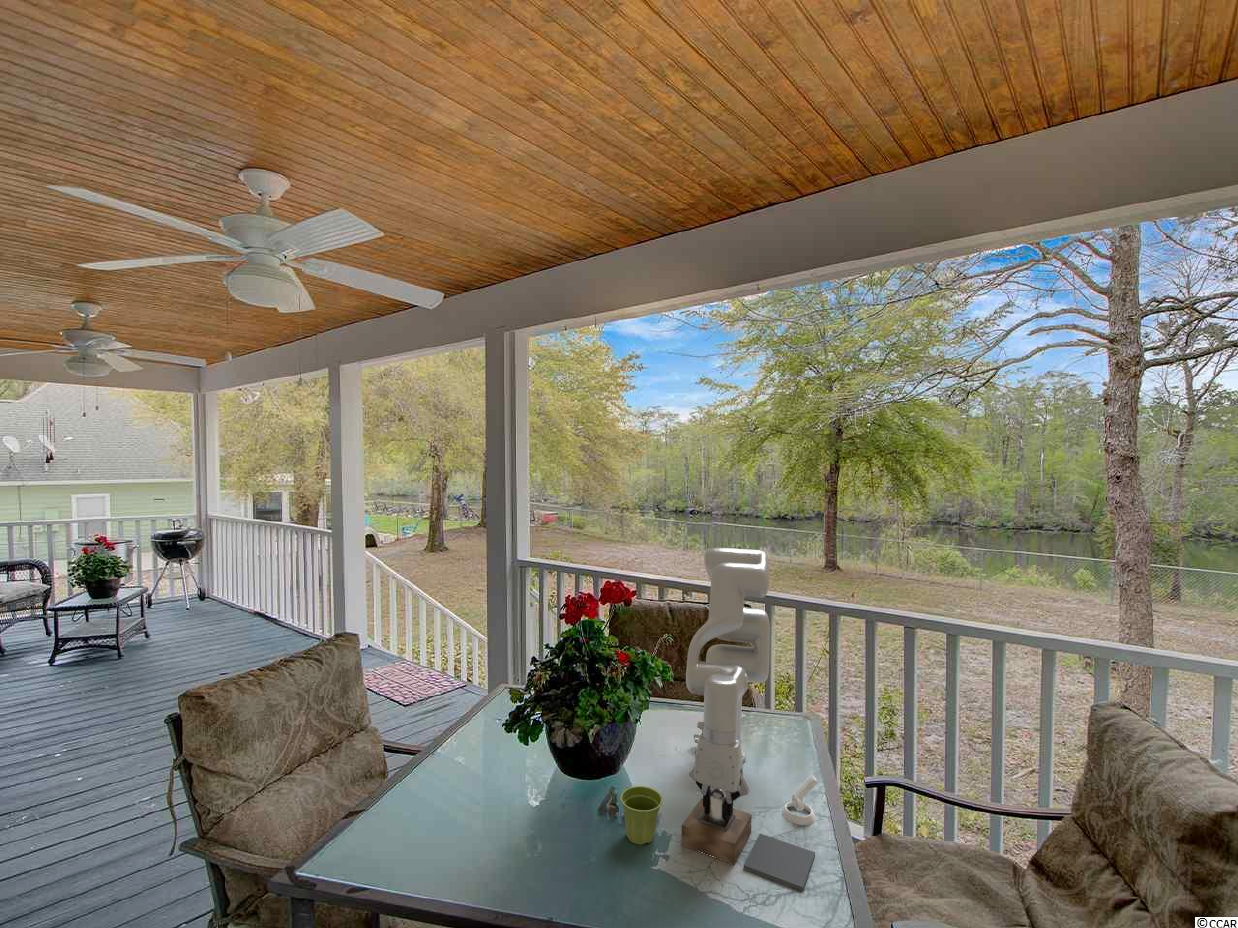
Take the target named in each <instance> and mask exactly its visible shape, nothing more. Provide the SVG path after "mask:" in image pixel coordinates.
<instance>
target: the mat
mask: <svg viewBox="0 0 1238 928" xmlns="http://www.w3.org/2000/svg"><path fill="white" fill-rule="evenodd" d="M815 858H816V851H813V850H809V849H807V848H803V847H801V846H798V845H795V844H792V843H790V842H787V841H783V840H781V839H777V838H775V837H771V836H770V835H767V834H764V833H759V834H758V836H757V838H756V840H755V842H754V844H753V846H752V847H751V850H750V852H749V854H748V856H747V858H746V860H745V862H744V864H743V870H745V871H749V872H751V873H753V874H755V875H758V876H762V877H764V878H767V879H769V880H773V881H774V882H777V883H779V884H783V885H786V886H788V887H791V888H793V889H795V890H799V891H801V892H804V890H805V886H806V884H807V880H808V878H809V875H810V872H811V869H812V865H813V863H814V860H815Z"/></svg>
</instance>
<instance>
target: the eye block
mask: <svg viewBox="0 0 1238 928" xmlns="http://www.w3.org/2000/svg"><path fill="white" fill-rule="evenodd" d="M752 815H753V813H749V812H747V811H744V810H742V809H741V810H740V809H737V808H735V807H733V814H732V816H729V818H728V820H727V821H726V827H725V828H724V827H721V826H718V825H715V824H712V823H709V813H708V814H704V807H703V797H701V798H700V800H699V801H698V802H697V804H696V805H695V806H694V808H693V809H692V811H691V812H690V813H689V814H688V816H687V817H686V818H685V820H684V821H683V823H682V824H681V840H680V842H681V843H680V845H681V846H682V847H685V848H688V849H690V850H692V849H693V851H695V850H697V851H696V852H698V851H700V852H703V853H705V854H704V855H706V854H708V855H711V856H714V857H716V858H718V859H717V860H719V859H721V860H723V861H722V862H724V861H725V863H727V862H728V863H727V864H729V863H731V864H730V865H732V864H733V865H732V866H735V865H736V863H737V861H738V859H739V857H740V856H739V855H741V854H742V852H743V850H744V848H745V846H746V844H747V842H748V840H749V839H748V838H750V837H749V836H751V835H752V821H753V820H752ZM750 834H751V835H750ZM700 852H699V853H700ZM703 853H702V854H703ZM708 855H707V856H708ZM711 856H710V857H711ZM714 857H713V858H714ZM716 858H715V859H716ZM721 860H720V861H721Z"/></svg>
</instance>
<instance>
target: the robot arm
mask: <svg viewBox="0 0 1238 928" xmlns="http://www.w3.org/2000/svg"><path fill="white" fill-rule="evenodd" d="M703 558H704V565H705V570H706V572H707V575H708V578H709V580H710V593H709V607H708V609H709V610H708V618H707V621H706V622H705V623H704V624H703V625H702V626H701V627H700V628H699V629H698V630H697V631H696V632H695V634H694V635H693V636H692V639H691V641H690V642H689V647H688V650H687V658H686V659H687V660H686V671H685V684H686V688H687V690H688V691H689V692H690V693H691V694H693V695H698V696H703V698H704V699H703V720H702V721H698V722H697V725H696V728H698V729H700V730H701V732H702V733H701V732H696V731H695V732H694V733H693V740H694V743H696V744H697V745H696V750H695V758H694V767H693V768H692V770H691V771H690V772H689V773H688V776H689V778H690V779H691V780H692V781H694V782H695V784H696V785H697V788H699V790H700V793H701V795H702V798H703V807H704V814H708V813H709V795H710V792H711V791H713V789H715V788H717V789H720V790H723V791H724V792H725V794H726V801H725V802H724V813H723V819H724V821H727V820H728V818H729V816H732V814H733V808H734V801H736V800H737V799H739V798H740V797H744V796H747V795H748V794H749V792H750V788H749V785H748V784H747V782H746V780H745V778H744V767H743V763H744V762H745V761H746V759H747V757H746V755H747V754H746V751H745V749H743V748H742V746H741V743H742V742H741V741H742V738H741V737H742V736H741V735H742V711H743V710H742V707H743V696H744V694H745V693H746V692H747V690H748V687H749V683H753V684H763V683H764V682H767V680H768V678H769V673H770V651H771V650H770V646H771V643H770V640H771V626H770V619H769V615H768V613H767V612H766V611H764V610H763V609H760V608H754V607H753V608H752V607H751V608H750V607H745V606H744V603H745V601H744V600H745V599H744V598H755V599H756V598H759V599H763V598H765V597H766V596H767V594H768V592H769V587H770V567H769V566H770V565H769V564H770V563H769V558H768V555H767V553H766V552H765V551H763V550H761V549H760V550H759V549H747V548H737V547H736V548H735V547H712V548H708V549H707V550H706V552H705V553H704V557H703ZM715 638H717V639H719V640H723V641H727V642H738V643H747V644H751V645H752V646H744V645H737V644H736V645H735V644H726V643H725V644H724V643H720V644H719V643H718V644H714V645H711V646H710V647H709V648H708V650H707V651H706V655H705V656H706V657H705V661H700V660H699V659H700V654H701V651H702V648H703V647H704V646H705V645H706V644H707V643H708V642H709V641H711V640H713V639H715ZM711 788H713V789H711Z"/></svg>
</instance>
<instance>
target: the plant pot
mask: <svg viewBox="0 0 1238 928" xmlns="http://www.w3.org/2000/svg"><path fill="white" fill-rule="evenodd" d="M620 801H621V804H622V809H623V810H624V822H625V824H624V825H625V832H626V835H625V836H626V837H627V838H628V840H629V842H630V843H633V844H636V845H644V844H646V843H648V844H649V843H650V844H651V842H652V841H653V840H654V836H655V831H656V825H657V820H658V815H659V811H660V808H661V806H662V804H663V797H662V794H661V793H660V792H659V791H657V790H656V789H654V788H652V787H649V786H644V785H643V786H641V785H636V786H630V787H628V788H626V789H625V790H623V791H622V792H621V794H620Z"/></svg>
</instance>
